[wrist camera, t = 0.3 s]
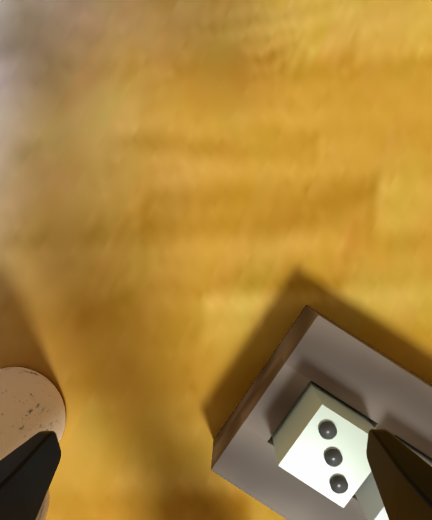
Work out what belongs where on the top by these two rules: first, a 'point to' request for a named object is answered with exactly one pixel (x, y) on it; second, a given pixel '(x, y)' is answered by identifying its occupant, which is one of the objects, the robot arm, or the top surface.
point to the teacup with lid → (28, 412)
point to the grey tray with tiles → (335, 383)
